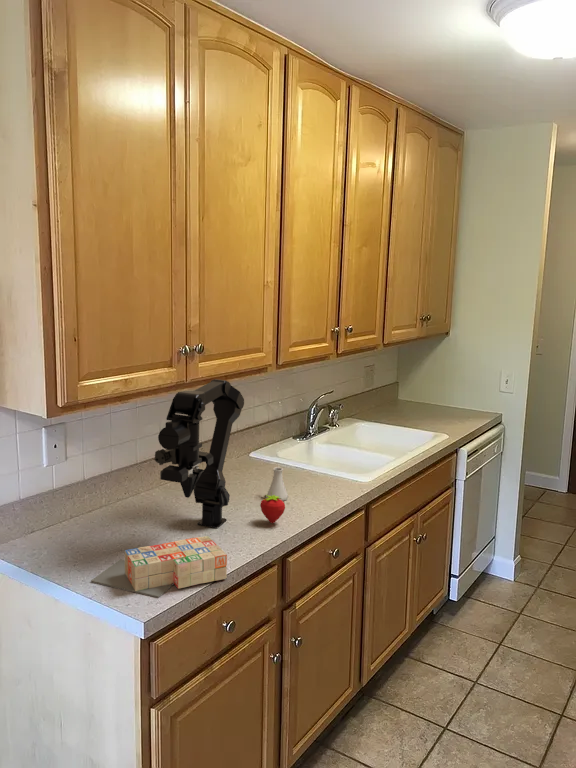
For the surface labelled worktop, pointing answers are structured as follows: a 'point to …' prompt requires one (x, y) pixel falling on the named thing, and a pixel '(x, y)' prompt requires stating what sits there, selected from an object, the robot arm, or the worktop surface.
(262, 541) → the worktop surface
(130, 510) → the worktop surface
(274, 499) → the strawberry
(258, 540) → the worktop surface
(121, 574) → the mat
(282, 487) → the flask
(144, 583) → the stack of blocks
